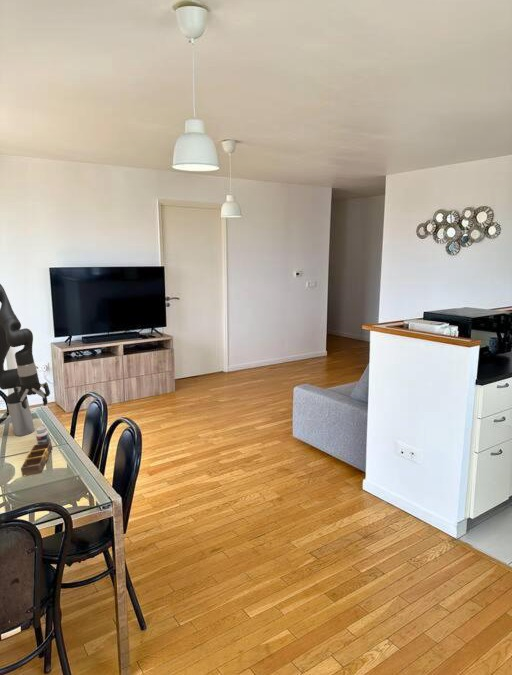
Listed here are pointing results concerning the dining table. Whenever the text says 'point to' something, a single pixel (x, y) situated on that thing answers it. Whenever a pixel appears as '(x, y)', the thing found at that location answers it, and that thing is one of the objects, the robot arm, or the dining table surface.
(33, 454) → the rack
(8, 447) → the dining table surface
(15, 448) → the dining table surface
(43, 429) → the pill bottle
